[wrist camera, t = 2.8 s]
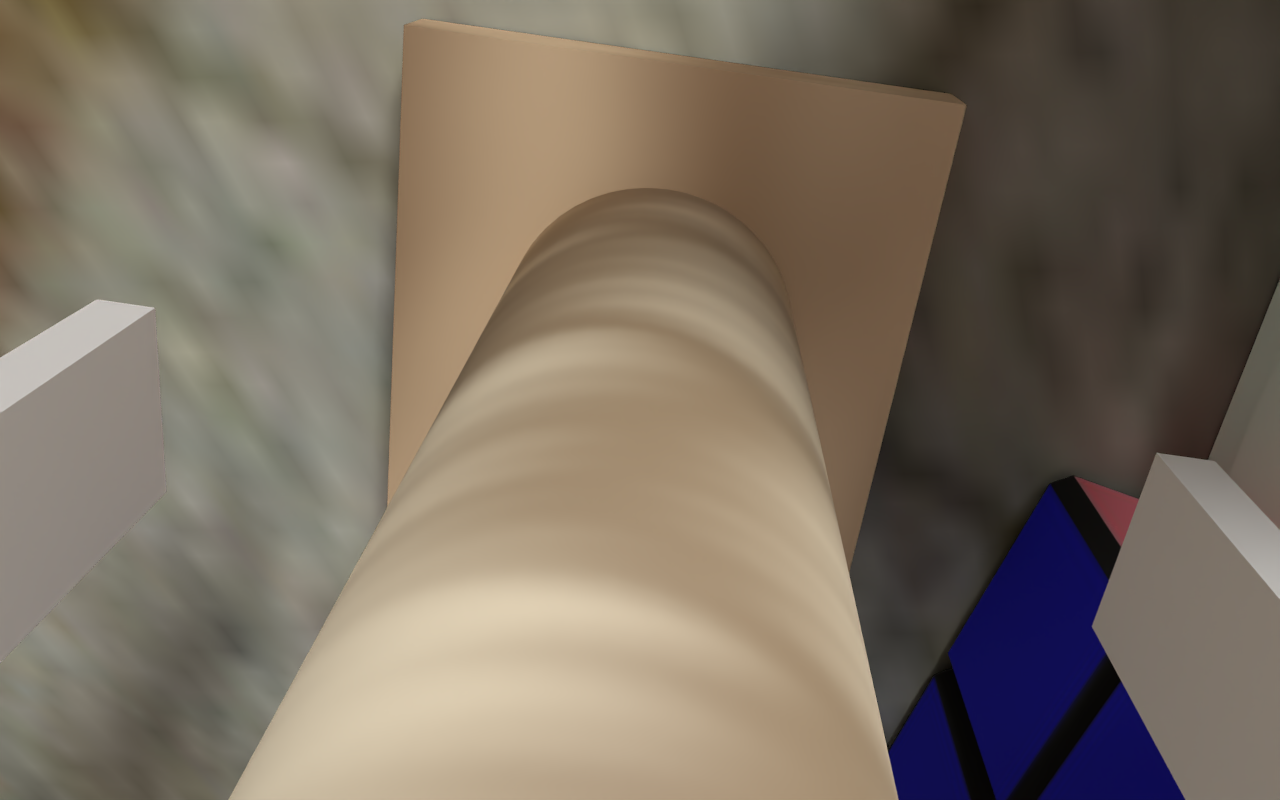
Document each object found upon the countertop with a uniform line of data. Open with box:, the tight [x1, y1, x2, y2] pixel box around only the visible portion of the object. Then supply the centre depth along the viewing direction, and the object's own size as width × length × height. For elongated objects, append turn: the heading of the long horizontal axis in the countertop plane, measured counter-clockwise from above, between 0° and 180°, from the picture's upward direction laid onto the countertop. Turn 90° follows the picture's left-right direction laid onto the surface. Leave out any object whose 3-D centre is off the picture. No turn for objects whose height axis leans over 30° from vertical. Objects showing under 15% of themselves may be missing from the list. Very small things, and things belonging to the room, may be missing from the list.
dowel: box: [229, 188, 898, 800], centre depth 12 cm, size 5×5×14 cm
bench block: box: [387, 19, 967, 571], centre depth 19 cm, size 9×9×1 cm
